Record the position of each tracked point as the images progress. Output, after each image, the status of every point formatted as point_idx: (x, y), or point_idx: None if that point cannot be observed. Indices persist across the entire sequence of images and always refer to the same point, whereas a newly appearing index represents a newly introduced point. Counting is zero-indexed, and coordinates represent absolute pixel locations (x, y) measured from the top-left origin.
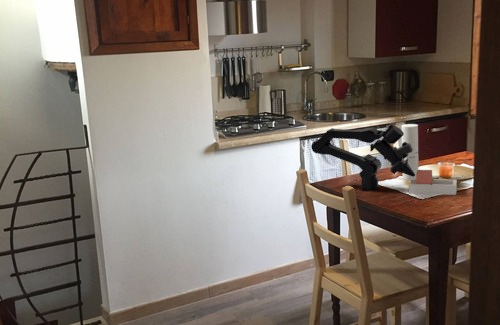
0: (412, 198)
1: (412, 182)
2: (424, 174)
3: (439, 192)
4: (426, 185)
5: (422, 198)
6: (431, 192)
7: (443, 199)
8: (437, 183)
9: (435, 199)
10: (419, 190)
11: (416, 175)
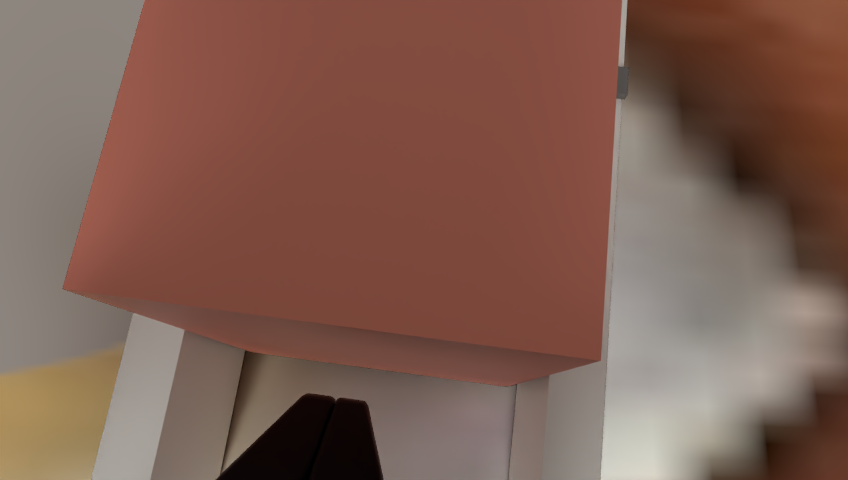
0: (833, 476)
1: (183, 455)
2: (605, 104)
3: None
4: (614, 178)
5: (810, 308)
6: None
7: (818, 24)
8: None
9: (834, 124)
10: None
11: (583, 361)
